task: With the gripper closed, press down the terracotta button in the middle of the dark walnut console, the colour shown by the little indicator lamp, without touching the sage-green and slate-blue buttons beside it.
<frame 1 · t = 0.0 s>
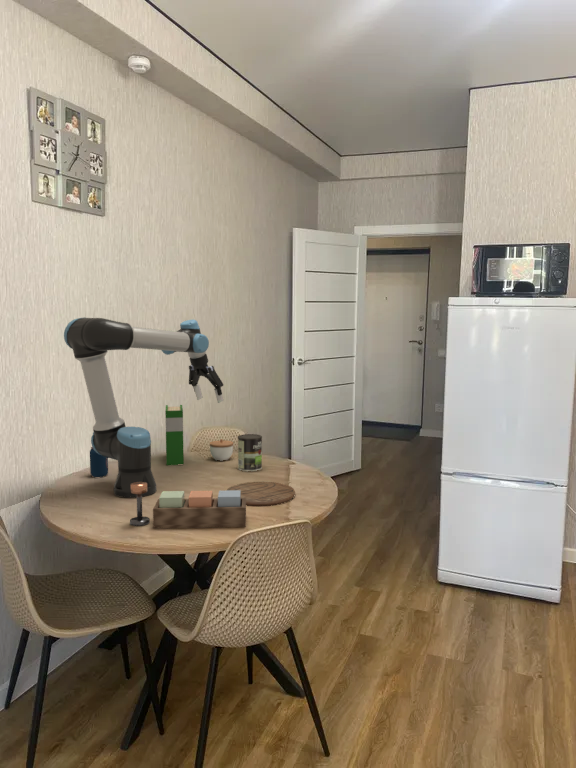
hand: (210, 400, 254), 28 cm above the table, tool tilted 20°, fingers open, 13 cm apart
soda can: (99, 476, 233), on the table
hardback book: (174, 460, 259), on the table
indicator lamp: (139, 522, 179), on the table
coffee can: (250, 469, 246), on the table
trivet: (260, 496, 208), on the table
button console: (201, 521, 180), on the table
slate button: (229, 499, 180), point 7 cm above the table, slide at 0.0 cm
terracotta button: (200, 500, 179), point 7 cm above the table, slide at 0.0 cm
lidded jar: (221, 459, 262), on the table
sage button: (172, 500, 179), point 7 cm above the table, slide at 0.0 cm
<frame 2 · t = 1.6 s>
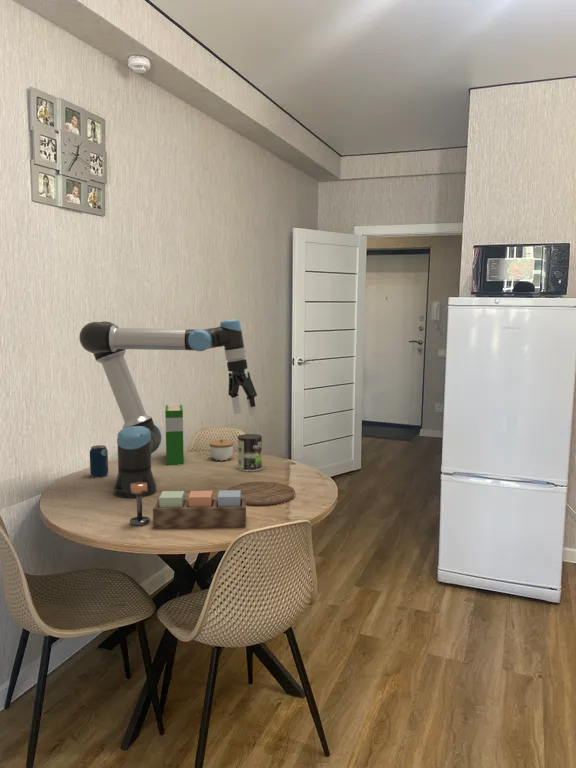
hand: (245, 414, 221), 27 cm above the table, tool pointing down, fingers open, 13 cm apart
nothing on the table moved.
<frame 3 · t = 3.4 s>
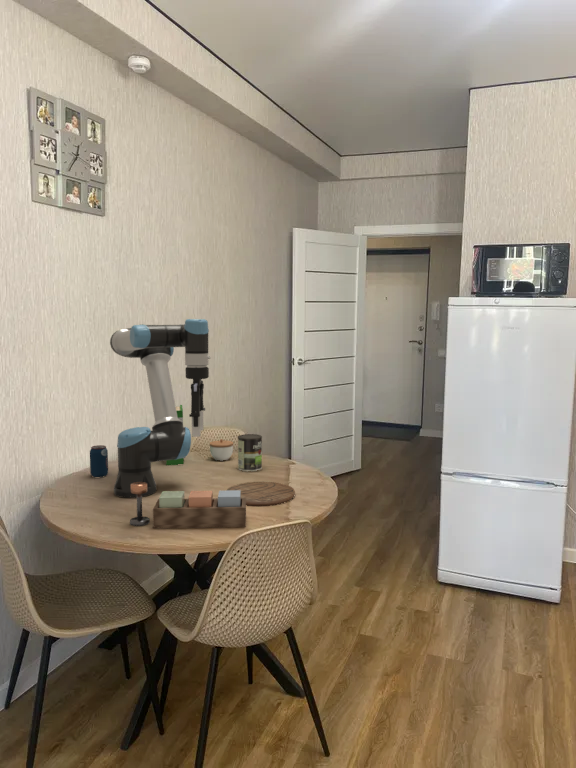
hand: (197, 433, 190), 26 cm above the table, tool pointing down, fingers open, 10 cm apart
nothing on the table moved.
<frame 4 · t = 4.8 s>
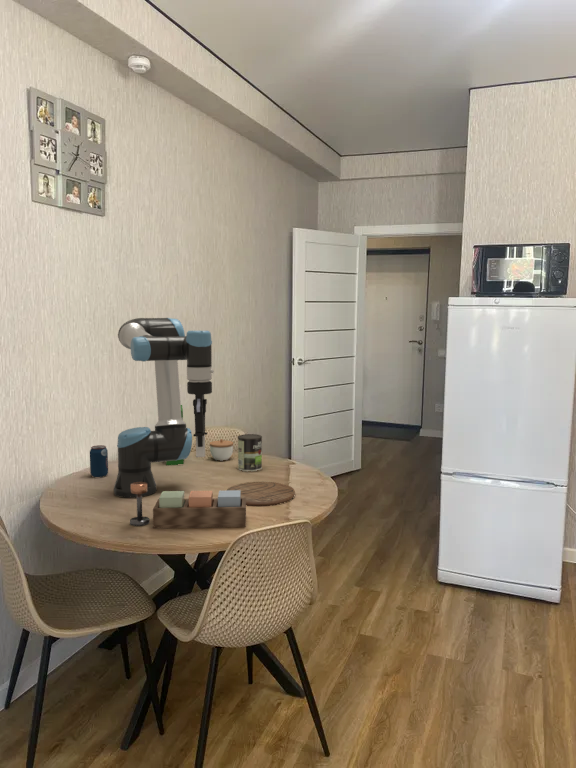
hand: (200, 456, 178), 21 cm above the table, tool pointing down, fingers closed
nothing on the table moved.
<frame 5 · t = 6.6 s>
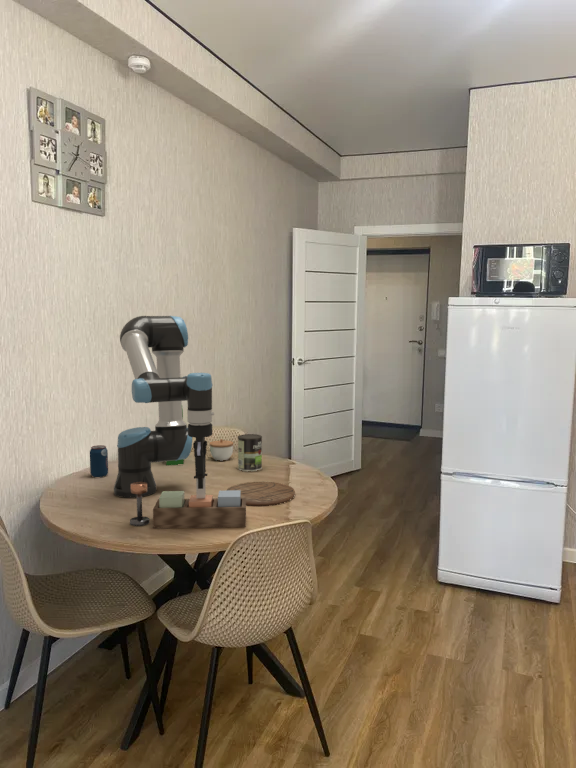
hand: (201, 497, 179), 8 cm above the table, tool pointing down, fingers closed
terracotta button: (200, 504, 180), point 6 cm above the table, slide at 1.4 cm, touching gripper
everything else where it was.
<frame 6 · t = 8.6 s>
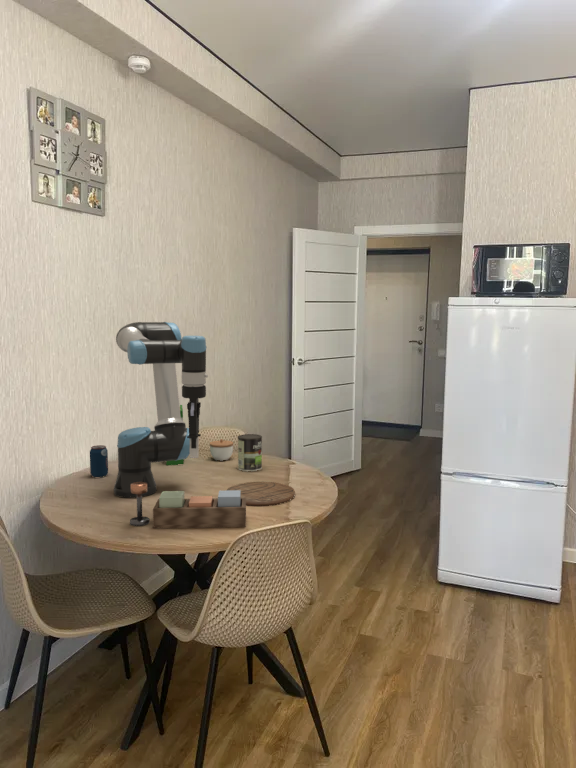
hand: (194, 457, 185), 19 cm above the table, tool pointing down, fingers closed
terracotta button: (201, 505, 180), point 5 cm above the table, slide at 1.8 cm
everything else where it was.
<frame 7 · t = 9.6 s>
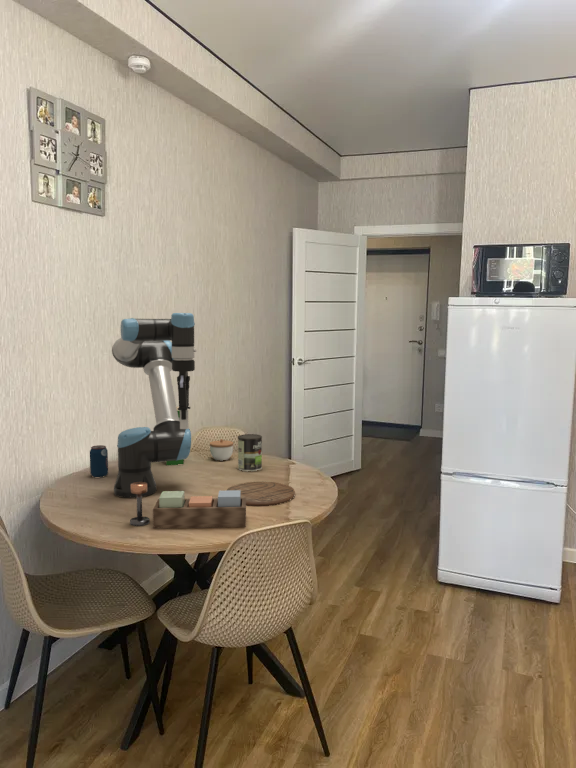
hand: (184, 428, 195), 26 cm above the table, tool pointing down, fingers closed
nothing on the table moved.
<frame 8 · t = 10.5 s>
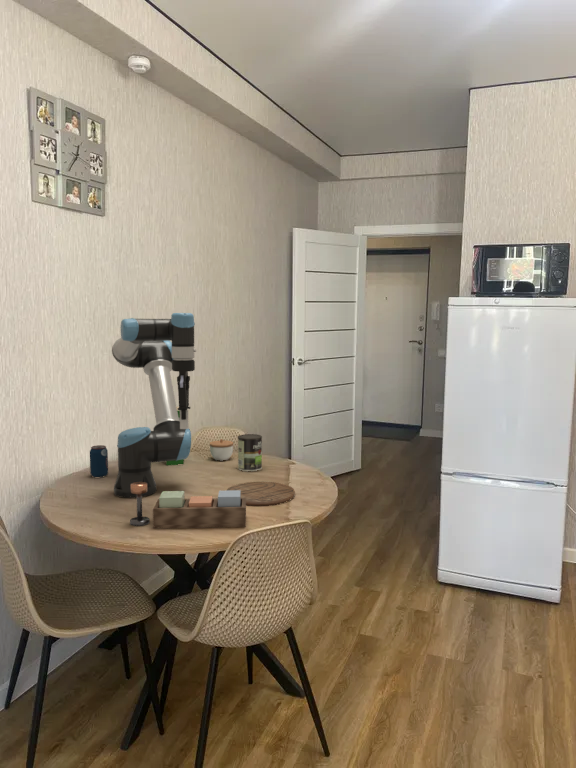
hand: (184, 428, 195), 26 cm above the table, tool pointing down, fingers closed
nothing on the table moved.
at the end: terracotta button slide at 1.8 cm; sage button slide at 0.0 cm; slate button slide at 0.0 cm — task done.
